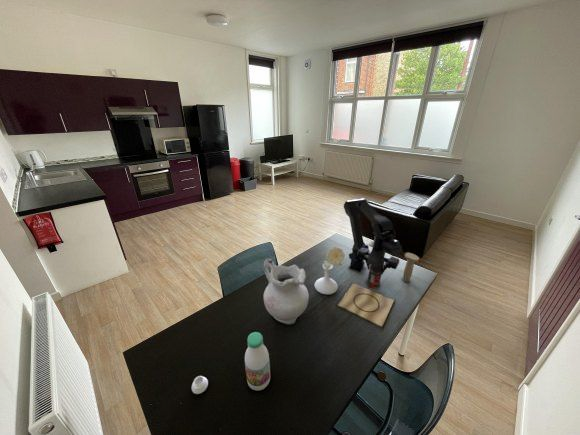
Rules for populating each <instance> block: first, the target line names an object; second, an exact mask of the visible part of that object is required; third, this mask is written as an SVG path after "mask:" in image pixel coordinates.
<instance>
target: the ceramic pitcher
mask: <svg viewBox="0 0 580 435" xmlns="http://www.w3.org/2000/svg"><path fill="white" fill-rule="evenodd" d="M269 268H270V271H269ZM263 271H264V273H265V277H266V279H267V281H268V284H267V286H266V287H265V290H264V292H263V303H264V307H265V309H266V311H267V312H268V313H269V315H270V316H271V317H273V319H275V320H276V321H278V322H280V323H283V324H286V325H293V324H295V323H296V320H297V319H298V318H299V317H300V316H301V315H302V314H303V313H304V312H305V310H306V309H307V308H308V304H309V298H310V297H309V296H310V295H309V291H308V288H307V287H306V285H305V282H306V279H307V276H306V271H305V269H304V268H299V266H297V264H292V265H290V266H286V265H276V264H275V263H274V261H273V259H271V258H267V257H266V258H265V259H264V261H263Z"/></svg>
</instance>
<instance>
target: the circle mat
mask: <svg viewBox="0 0 580 435" xmlns="http://www.w3.org/2000/svg"><path fill="white" fill-rule="evenodd" d="M394 302H395V300H394V299H393V298H390V297H388V296H385V295H382V294H380V293H378V292H376V291H373V290H372V289H368V288H366V287H364V286H361V285H359V284H356V283H353V282H352V284H351V286H350V287H349V289H348V290H347V291H346V292H345V294H344V296H343V297H342V298H341V299H340V301H339V303H338V304H337V306H338V308H339V307H340V308H342V309H344V310H346V311H347V312H349V313H352V314H354V315H356V316H357V317H360V318H362V319H364V320H366V321H368V322H370V323H372V324H375V325H376V326H378V327H381V328H383V326H384V325H385V322H386V320H387V317H388V315H389V313H390V311H391V309H392V307H393V304H394Z"/></svg>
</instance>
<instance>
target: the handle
mask: <svg viewBox="0 0 580 435" xmlns="http://www.w3.org/2000/svg"><path fill="white" fill-rule="evenodd" d="M404 258H405V259H406V262H405V265H404V268H403V273H402V280H403V282H406V283H408V282H410V281H411V278H412V276H413V272H414V266H415V263H416V262H419V260H420V257H419V256H418V255H416V254H414V253H411V252H405V253H404Z"/></svg>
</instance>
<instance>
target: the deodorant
mask: <svg viewBox="0 0 580 435" xmlns="http://www.w3.org/2000/svg"><path fill="white" fill-rule="evenodd" d="M384 264H385V263H384ZM384 264H383V265H378V266H377V267H376V266H373V265H370V269H369V270H368V274H367V279H366V284H367V286H368V287H370V288H372V289H378V287H379V286H380V283H381V278H382V275H381V273H382V270H383V266H384Z"/></svg>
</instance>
